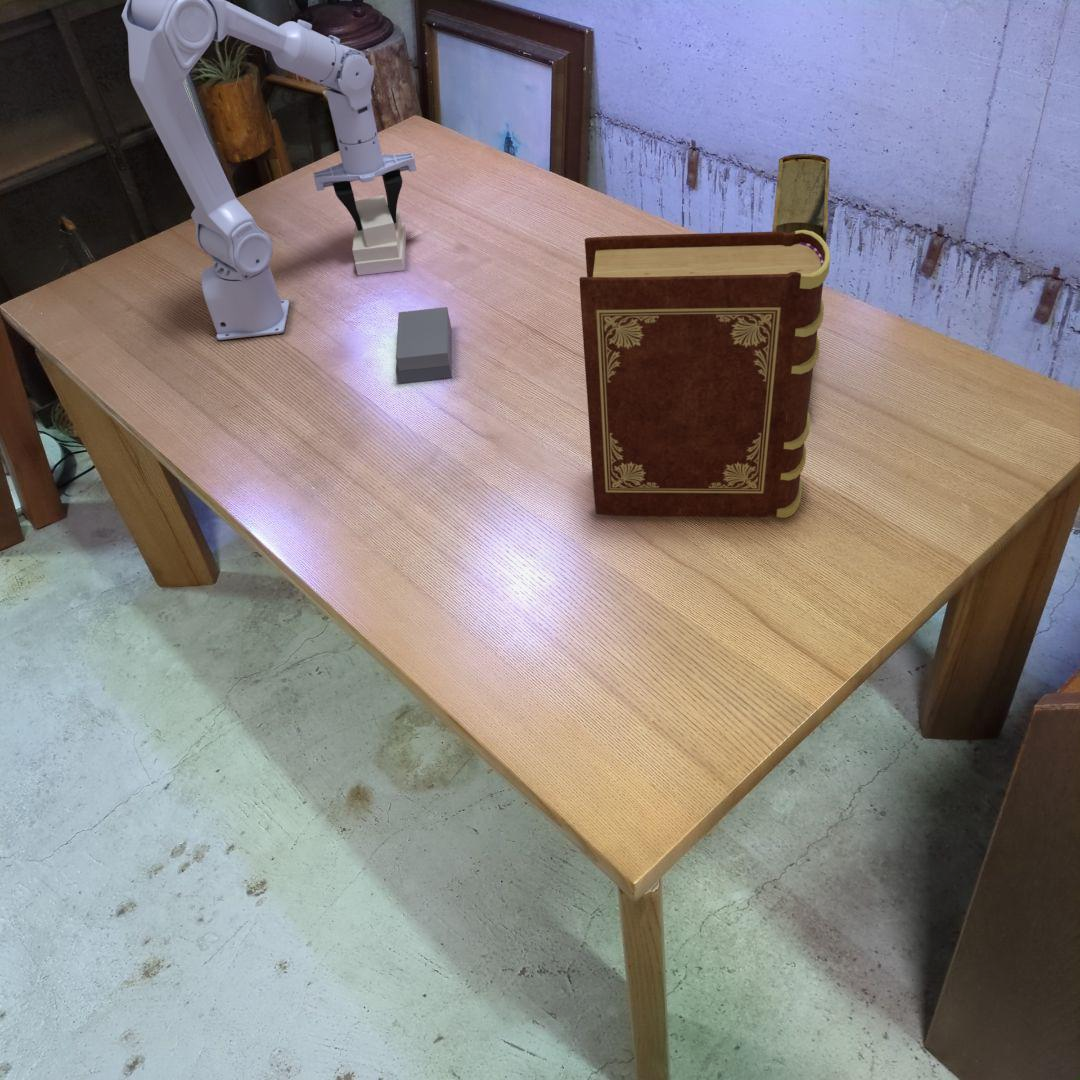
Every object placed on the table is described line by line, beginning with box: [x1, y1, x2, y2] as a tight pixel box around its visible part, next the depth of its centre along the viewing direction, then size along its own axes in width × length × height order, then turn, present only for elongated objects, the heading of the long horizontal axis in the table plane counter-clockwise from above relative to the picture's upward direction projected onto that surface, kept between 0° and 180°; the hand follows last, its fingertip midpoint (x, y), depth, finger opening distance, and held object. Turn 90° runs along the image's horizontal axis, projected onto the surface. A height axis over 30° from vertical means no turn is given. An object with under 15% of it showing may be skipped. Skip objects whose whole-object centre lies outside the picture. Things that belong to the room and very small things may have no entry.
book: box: [771, 153, 830, 244], centre depth 122 cm, size 16×6×25 cm, turn 168°
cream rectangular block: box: [355, 194, 397, 247], centre depth 157 cm, size 4×9×3 cm, turn 15°
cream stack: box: [351, 209, 407, 276], centre depth 159 cm, size 7×11×4 cm, turn 4°
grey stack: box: [395, 306, 453, 385], centre depth 139 cm, size 7×11×4 cm, turn 4°
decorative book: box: [579, 230, 831, 519], centre depth 107 cm, size 22×8×30 cm, turn 84°
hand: (376, 224), depth 157 cm, fingers closed on cream rectangular block, 4 cm apart
